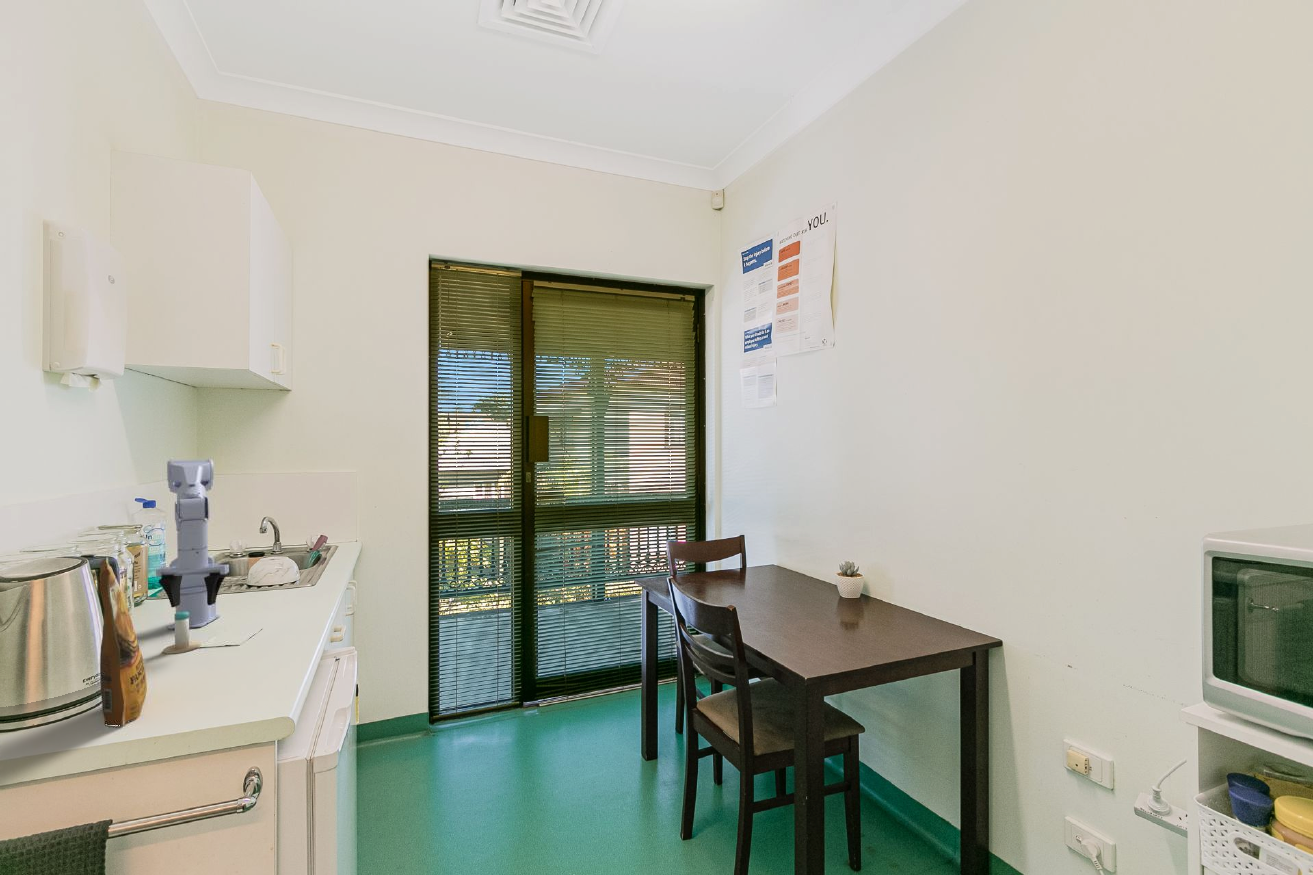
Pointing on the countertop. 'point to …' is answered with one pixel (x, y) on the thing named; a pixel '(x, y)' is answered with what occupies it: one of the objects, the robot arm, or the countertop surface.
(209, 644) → the paper
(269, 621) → the countertop surface
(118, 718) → the pancake mix bag
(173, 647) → the coaster
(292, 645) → the countertop surface
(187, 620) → the marker
